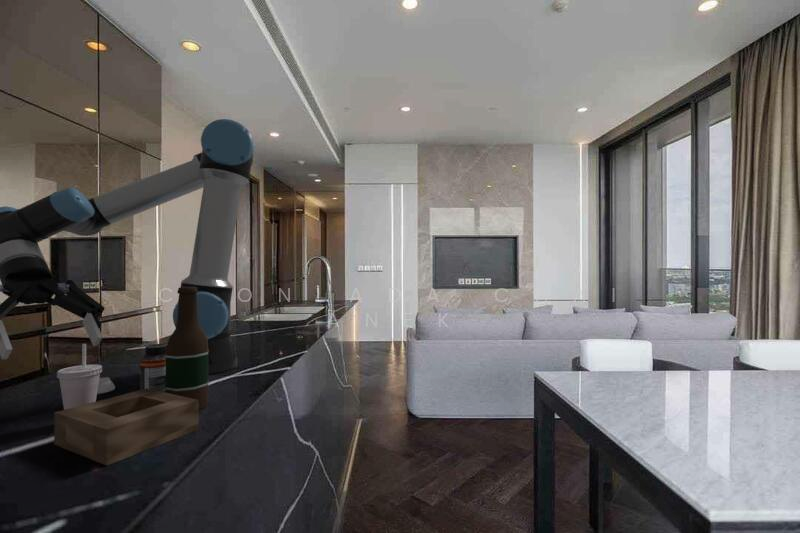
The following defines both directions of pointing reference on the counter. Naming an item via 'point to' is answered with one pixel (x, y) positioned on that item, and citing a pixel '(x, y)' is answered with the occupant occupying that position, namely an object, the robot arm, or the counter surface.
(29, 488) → the counter surface
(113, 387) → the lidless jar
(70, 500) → the counter surface
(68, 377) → the smoothie
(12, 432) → the counter surface
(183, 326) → the beer bottle
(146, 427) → the socket board
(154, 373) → the supplement bottle
